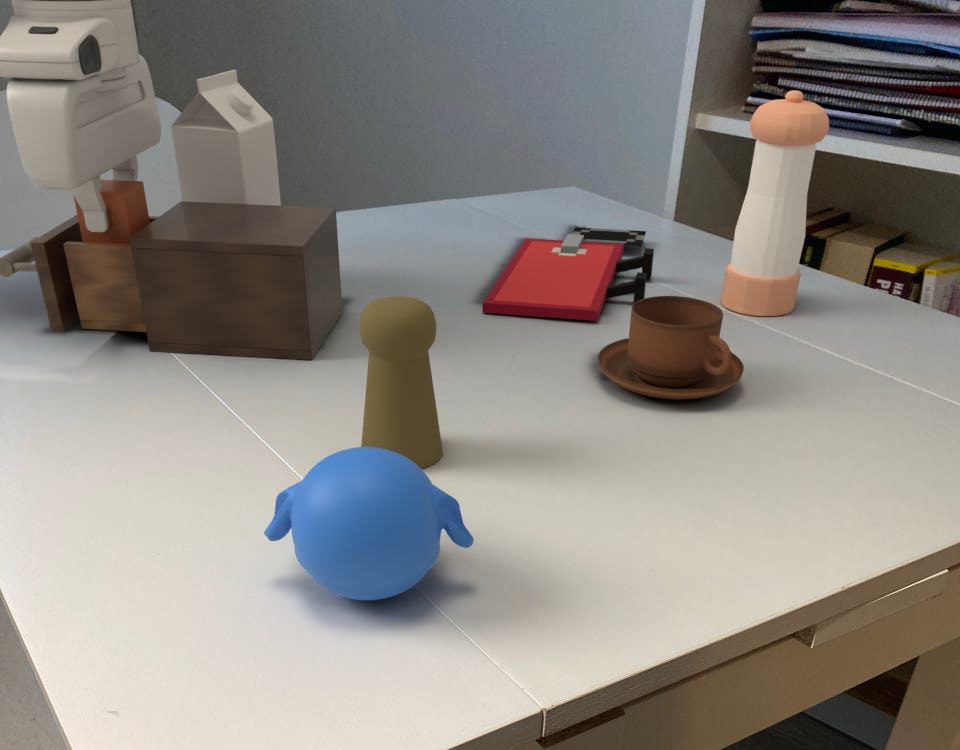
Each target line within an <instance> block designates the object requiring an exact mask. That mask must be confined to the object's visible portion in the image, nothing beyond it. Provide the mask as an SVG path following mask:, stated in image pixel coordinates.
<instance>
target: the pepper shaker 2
mask: <svg viewBox="0 0 960 750" xmlns="http://www.w3.org/2000/svg"><path fill="white" fill-rule="evenodd" d="M804 98H805V97H804V94H803V92H802V91H800V90H796V89H795V90H789V91H787V93H786V94H785V95H784V98H783V99H772V100H770V101H768V102H766V103H763V104H761V105H759V106H758V107H757V109H756V110H755V111H754V113H753V114H752V116H751V119H750V121H749V128H750V133H751V136H752V138H754V139H756V141H755V143H754V144H755V146H754V149H753V150H754V151H753V156H752V163H751V168H750V169H751V170H750V173H749V174H750V175H749V179H748V180H749V181H748V185H747V190H746V193H745V197H744V200H743V203H742V206H741V209H740V213H739V216H738V219H737V222H736V225H735V229H734V234H733V235H734V236H733V242H732V251H731V258H730V262H729V263H728V264H727V265H726V266H725V271H724V278H723V285H722V288H721V289H722V290H721V295H720V296H721V297H720V304H721V305H722V306H723V307H724V308H726V309H728V310H729V311H732V312H735V313H739V314H743V315H749V316H756V317H778V316H783V315H787V314H789V313H791V312H792V311H793V310H795V306H796V300H797V296H798V290H799V285H800V281H801V276H802V275H801V271H800V269H799V264H800V262H801V261H800V260H801V256H802V253H803V252H802V251H803V248H804V243H805V239H806V230H807V229H806V227H807V205H808V192H809V186H810V181H811V175H812V171H813V166H814V165H813V164H814V159H815V155H816V150H817V144H818V143H821V142H822V141H824V138H825V137H826V135H827V134H828V132H829V130H830V118H829V116H828V114H827V111H826V110H825V109H824V108H823V107H822V106H821V105H819V104H817V103H816V102H813V101H810V100H803V99H804Z"/></svg>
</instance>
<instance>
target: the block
mask: <svg viewBox="0 0 960 750" xmlns="http://www.w3.org/2000/svg"><path fill="white" fill-rule="evenodd" d="M100 180H101V186H102V188H101V189H99V191H100V194H101V196H102V199H103V201H104V204H105V207H110V211H111V218H112V222H113V225H112V227H111V228H109V229H108V230H106V231H105V232H91V231H89V230H88V229H87V227H86V223H85V218H84V214H83V210H82V209H81V207H80V206H79V204H78V202H77V200H76V199H75V197H74V195H73V194H72V196H73V200H74V201H73V202H74V206H75V211H76V215H77V216H78V220H79V225H80V230H81V235H82V239H83V242H87V243H108V244H128V245H130V241H129V238H130V237H131V236H133V235H134V234H136V233H137V232H138V231H140V230H141V229H143V228H144V227H145V226H147V225H148V224H150V220H149V216H150V215H149V210H148V209H149V208H148V203H147V197H146V192H145V186H144V181H142V180H137V181H121V180H113V179H100Z"/></svg>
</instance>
